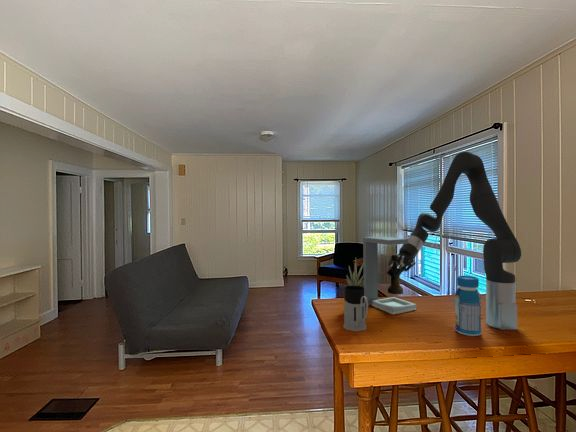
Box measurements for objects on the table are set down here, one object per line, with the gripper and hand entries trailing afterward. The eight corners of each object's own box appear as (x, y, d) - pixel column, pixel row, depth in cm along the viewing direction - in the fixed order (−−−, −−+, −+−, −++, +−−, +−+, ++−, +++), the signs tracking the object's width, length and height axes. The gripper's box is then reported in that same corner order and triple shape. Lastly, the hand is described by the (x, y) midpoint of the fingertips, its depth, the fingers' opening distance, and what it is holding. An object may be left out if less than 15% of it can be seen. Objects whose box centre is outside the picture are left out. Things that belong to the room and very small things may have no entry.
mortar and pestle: (399, 290, 145) (399, 252, 145) (405, 294, 138) (405, 254, 138) (385, 290, 145) (385, 252, 144) (390, 294, 138) (390, 254, 138)
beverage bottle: (468, 338, 107) (468, 280, 107) (449, 329, 115) (449, 275, 115) (487, 335, 109) (487, 278, 109) (467, 326, 117) (467, 274, 117)
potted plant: (371, 315, 131) (371, 257, 131) (352, 318, 128) (352, 259, 127) (358, 308, 140) (357, 254, 140) (339, 311, 137) (339, 256, 137)
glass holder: (359, 321, 124) (359, 284, 124) (378, 335, 110) (378, 293, 110) (339, 324, 122) (339, 286, 122) (356, 338, 108) (356, 295, 108)
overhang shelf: (389, 300, 153) (388, 235, 153) (416, 310, 138) (416, 238, 137) (363, 304, 146) (363, 237, 146) (389, 315, 131) (389, 240, 130)
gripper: (395, 240, 151) (376, 267, 146) (419, 243, 138) (399, 273, 133) (404, 251, 153) (385, 277, 148) (427, 254, 140) (408, 284, 135)
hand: (392, 275), depth 141 cm, fingers closed on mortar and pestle, 4 cm apart
